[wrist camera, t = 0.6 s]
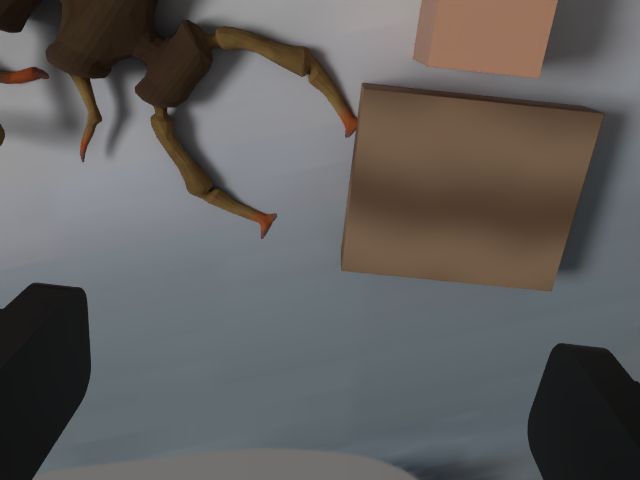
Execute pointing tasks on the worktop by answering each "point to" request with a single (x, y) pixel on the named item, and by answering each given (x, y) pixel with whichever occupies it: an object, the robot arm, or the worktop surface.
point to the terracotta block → (485, 35)
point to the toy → (156, 71)
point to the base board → (464, 186)
